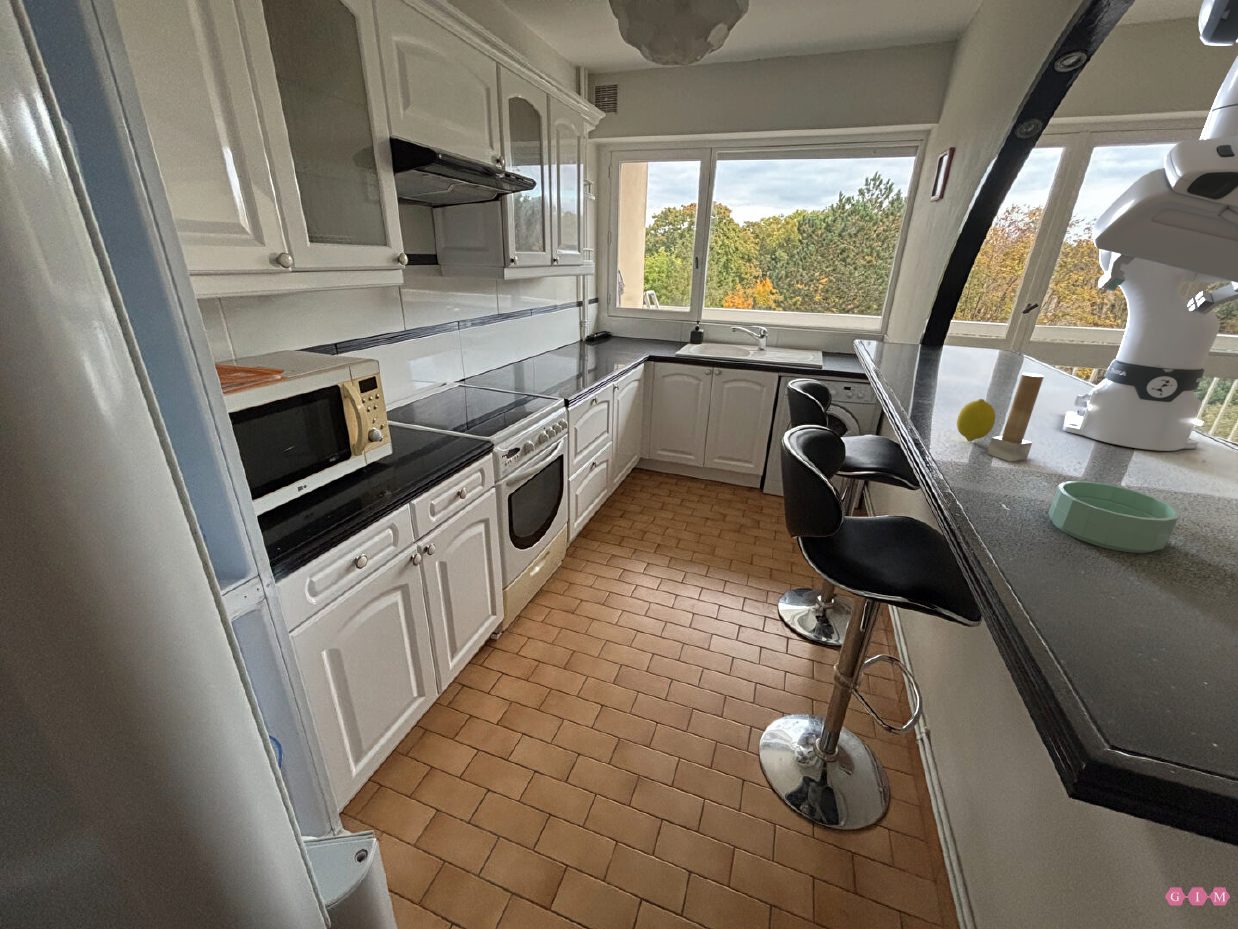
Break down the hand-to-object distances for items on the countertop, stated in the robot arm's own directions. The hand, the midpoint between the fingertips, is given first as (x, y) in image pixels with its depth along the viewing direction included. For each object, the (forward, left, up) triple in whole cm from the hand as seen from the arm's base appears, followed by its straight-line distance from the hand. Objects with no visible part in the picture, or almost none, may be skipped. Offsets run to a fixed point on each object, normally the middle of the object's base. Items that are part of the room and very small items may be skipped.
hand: (1149, 298), depth 59 cm
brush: (-18, -5, -27) cm, 33 cm away
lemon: (-24, -10, -27) cm, 38 cm away
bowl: (+8, +2, -27) cm, 28 cm away
